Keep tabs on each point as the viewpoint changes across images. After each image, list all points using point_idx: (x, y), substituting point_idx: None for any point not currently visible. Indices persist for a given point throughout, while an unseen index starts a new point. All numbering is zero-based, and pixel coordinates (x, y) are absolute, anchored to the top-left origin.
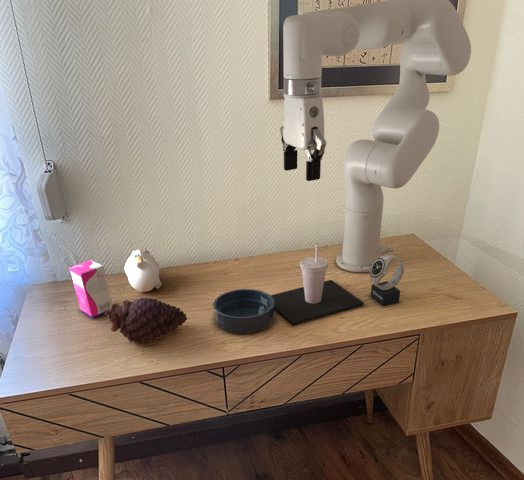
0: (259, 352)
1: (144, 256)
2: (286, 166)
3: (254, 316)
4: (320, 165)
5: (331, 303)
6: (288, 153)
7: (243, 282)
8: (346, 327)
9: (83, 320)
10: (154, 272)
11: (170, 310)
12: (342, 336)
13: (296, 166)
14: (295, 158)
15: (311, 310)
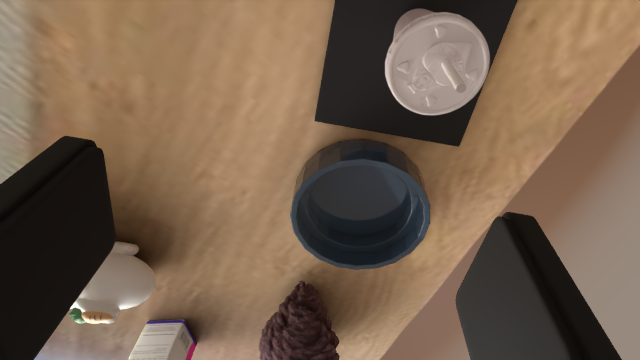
0: (473, 237)
1: None
2: (100, 262)
3: (423, 234)
4: (589, 309)
5: (472, 4)
6: (14, 351)
7: (198, 99)
8: (570, 52)
9: (194, 351)
10: (128, 282)
11: (314, 333)
12: (583, 89)
13: (93, 163)
14: (38, 224)
15: None
